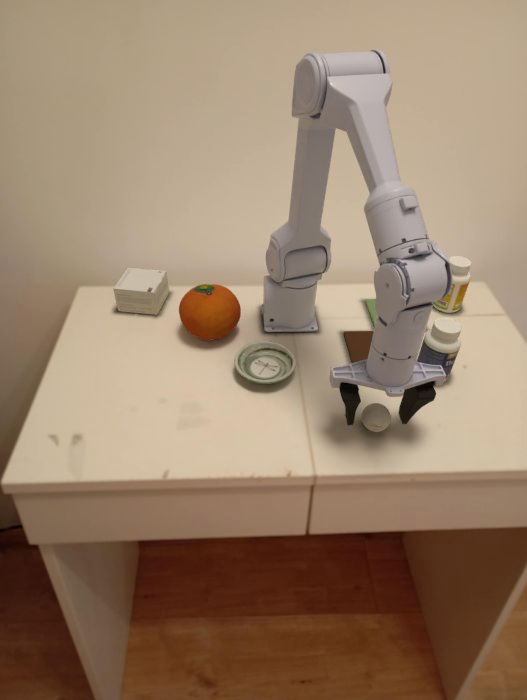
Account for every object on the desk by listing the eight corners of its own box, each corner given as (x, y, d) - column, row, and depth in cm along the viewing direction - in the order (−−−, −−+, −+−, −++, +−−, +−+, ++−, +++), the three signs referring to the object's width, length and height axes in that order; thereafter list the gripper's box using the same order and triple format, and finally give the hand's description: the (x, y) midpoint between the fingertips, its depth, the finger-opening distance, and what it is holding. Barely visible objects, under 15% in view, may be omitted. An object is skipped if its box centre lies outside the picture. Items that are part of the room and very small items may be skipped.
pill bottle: (443, 389, 73) (461, 340, 67) (409, 376, 75) (424, 327, 69) (452, 369, 77) (470, 321, 71) (420, 357, 79) (435, 310, 73)
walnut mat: (353, 367, 77) (353, 365, 76) (343, 333, 84) (343, 331, 83) (407, 367, 77) (408, 364, 77) (393, 333, 84) (394, 330, 84)
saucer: (226, 385, 73) (226, 374, 71) (244, 347, 80) (244, 336, 78) (287, 398, 71) (288, 386, 69) (300, 358, 78) (301, 346, 77)
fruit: (249, 341, 81) (249, 302, 76) (190, 355, 78) (186, 316, 73) (229, 308, 89) (227, 271, 84) (175, 319, 86) (170, 281, 80)
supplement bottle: (456, 298, 93) (471, 254, 87) (462, 314, 89) (479, 269, 83) (429, 296, 93) (442, 252, 87) (433, 312, 89) (447, 267, 83)
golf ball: (380, 413, 69) (385, 394, 66) (392, 434, 66) (398, 415, 64) (355, 419, 68) (359, 400, 66) (367, 440, 65) (371, 421, 63)
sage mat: (375, 329, 85) (376, 327, 84) (364, 301, 91) (365, 299, 91) (424, 329, 85) (425, 326, 85) (410, 301, 92) (411, 298, 92)
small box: (131, 289, 93) (127, 266, 90) (170, 292, 92) (167, 270, 89) (117, 311, 87) (111, 288, 84) (158, 315, 86) (154, 292, 83)
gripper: (342, 367, 54) (329, 443, 63) (465, 365, 55) (435, 440, 63) (332, 329, 59) (321, 404, 68) (445, 328, 60) (419, 402, 69)
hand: (375, 419), depth 66 cm, fingers open, 7 cm apart
